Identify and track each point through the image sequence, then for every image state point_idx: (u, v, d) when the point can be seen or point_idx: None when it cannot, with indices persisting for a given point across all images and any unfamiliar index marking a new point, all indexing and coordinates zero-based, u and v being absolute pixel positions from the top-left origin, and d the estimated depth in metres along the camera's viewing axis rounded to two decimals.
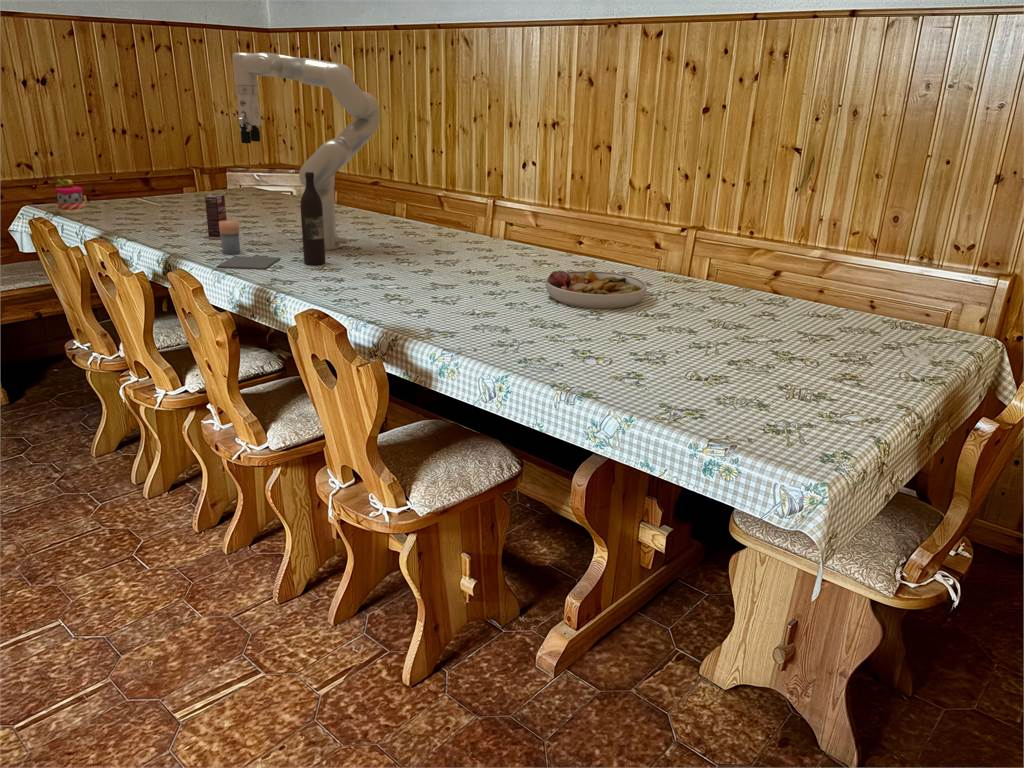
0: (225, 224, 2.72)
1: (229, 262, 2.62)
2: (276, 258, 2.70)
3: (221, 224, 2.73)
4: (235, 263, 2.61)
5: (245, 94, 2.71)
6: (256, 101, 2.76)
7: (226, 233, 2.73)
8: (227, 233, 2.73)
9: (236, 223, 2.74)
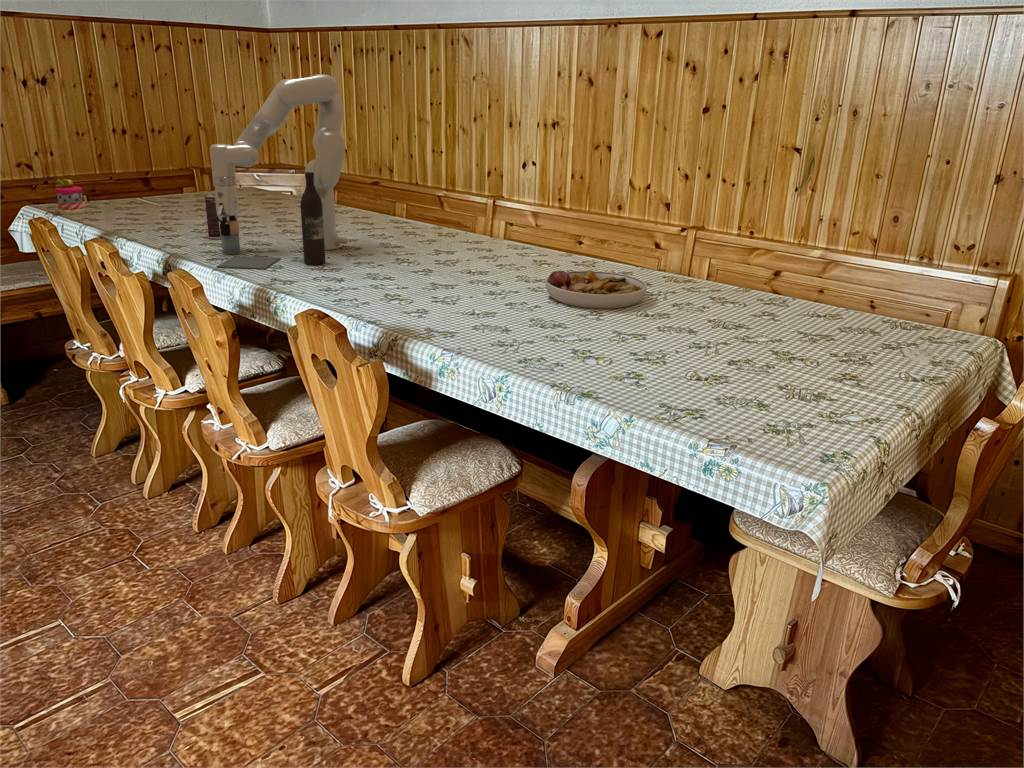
0: None
1: (229, 262, 2.62)
2: (276, 258, 2.70)
3: None
4: (235, 263, 2.61)
5: (222, 186, 2.67)
6: (234, 191, 2.72)
7: None
8: None
9: (236, 223, 2.74)
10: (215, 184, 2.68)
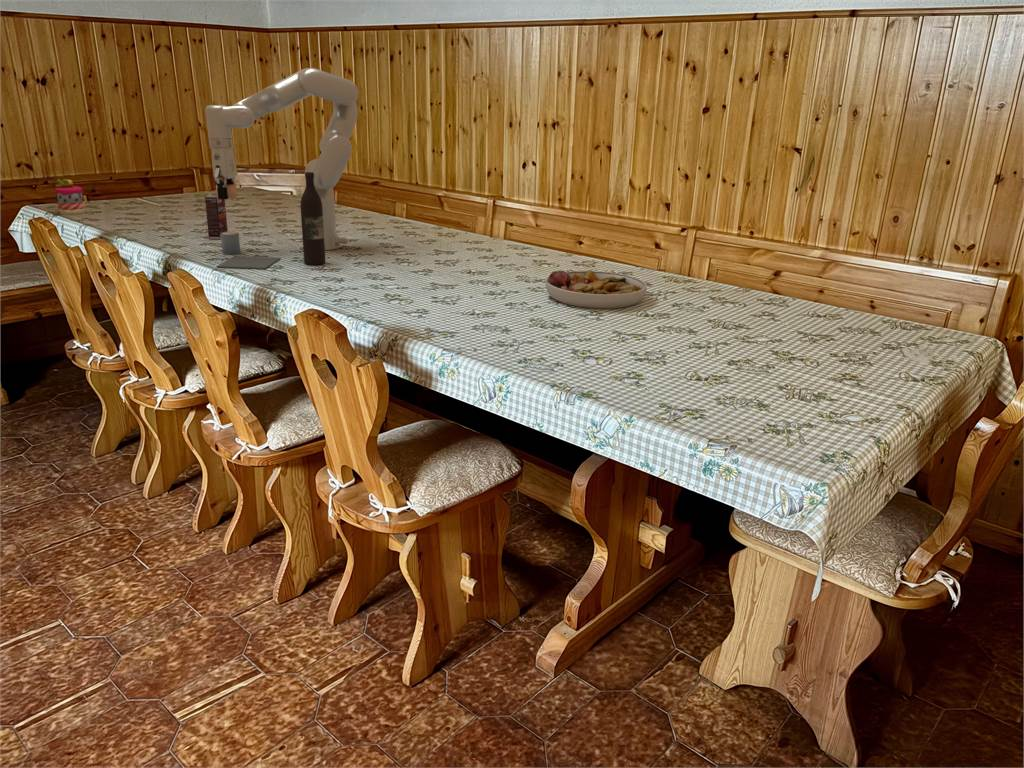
0: None
1: (229, 262, 2.62)
2: (276, 258, 2.70)
3: None
4: (235, 263, 2.61)
5: (219, 148, 2.63)
6: (231, 154, 2.68)
7: None
8: None
9: (233, 186, 2.70)
10: (211, 146, 2.63)
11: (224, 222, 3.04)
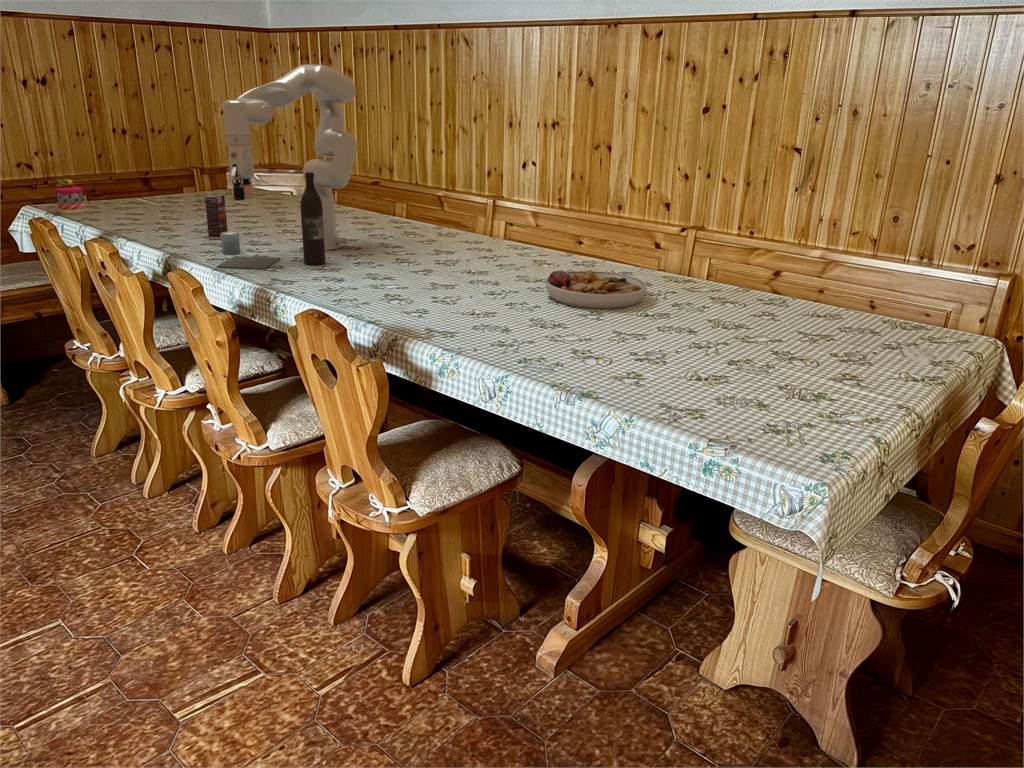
0: None
1: (229, 262, 2.62)
2: (276, 258, 2.70)
3: None
4: (235, 263, 2.61)
5: (236, 145, 2.47)
6: (249, 152, 2.52)
7: None
8: None
9: (250, 187, 2.54)
10: (228, 144, 2.47)
11: (224, 222, 3.04)
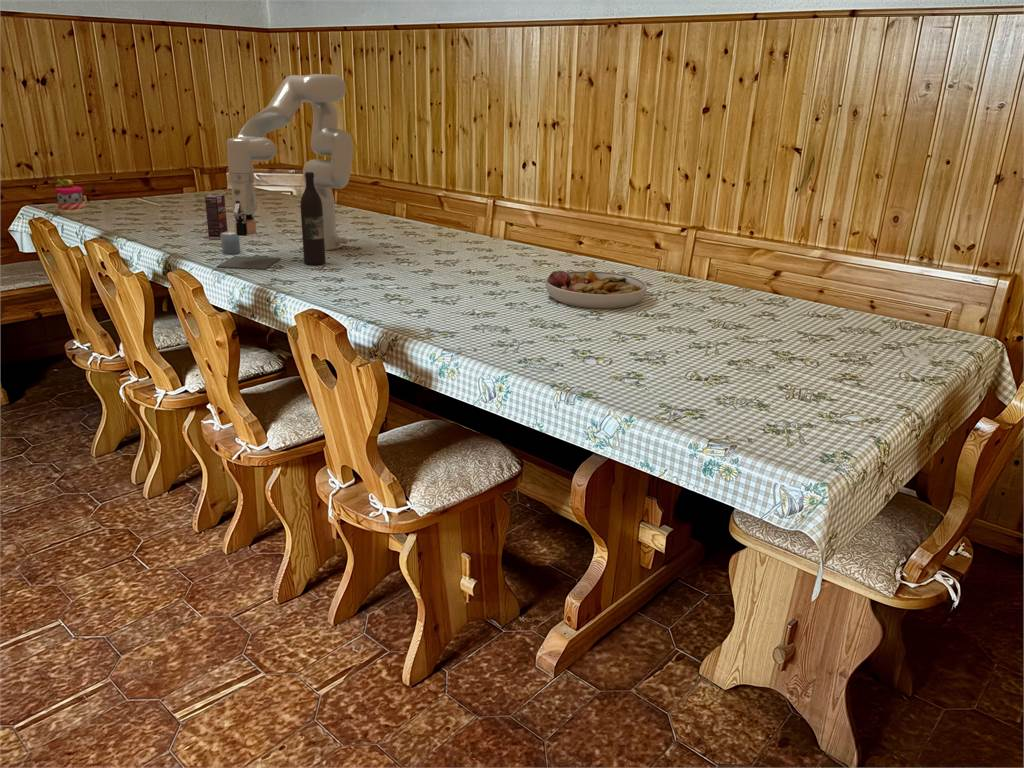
0: None
1: (229, 262, 2.62)
2: (276, 258, 2.70)
3: None
4: (235, 263, 2.61)
5: (240, 182, 2.51)
6: (252, 188, 2.56)
7: None
8: None
9: (253, 222, 2.58)
10: (232, 181, 2.51)
11: (224, 222, 3.04)
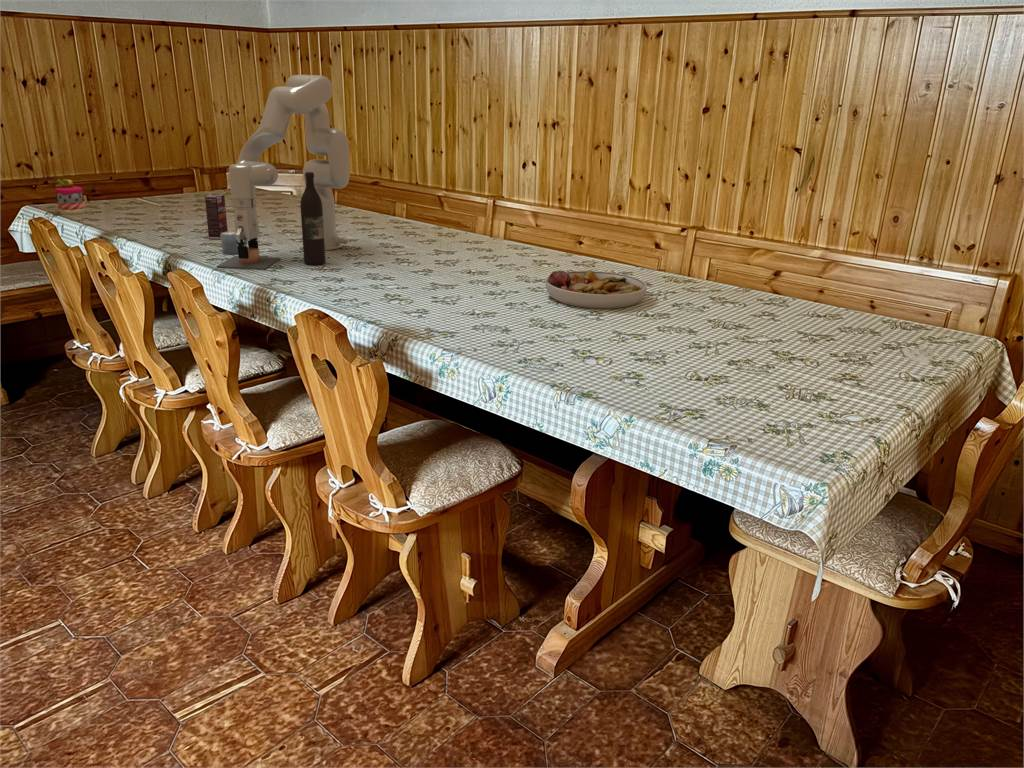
0: None
1: (229, 262, 2.62)
2: (276, 258, 2.70)
3: None
4: (235, 263, 2.61)
5: (242, 208, 2.54)
6: (254, 213, 2.59)
7: (246, 262, 2.61)
8: (247, 262, 2.61)
9: (256, 251, 2.62)
10: (234, 206, 2.54)
11: (224, 222, 3.04)
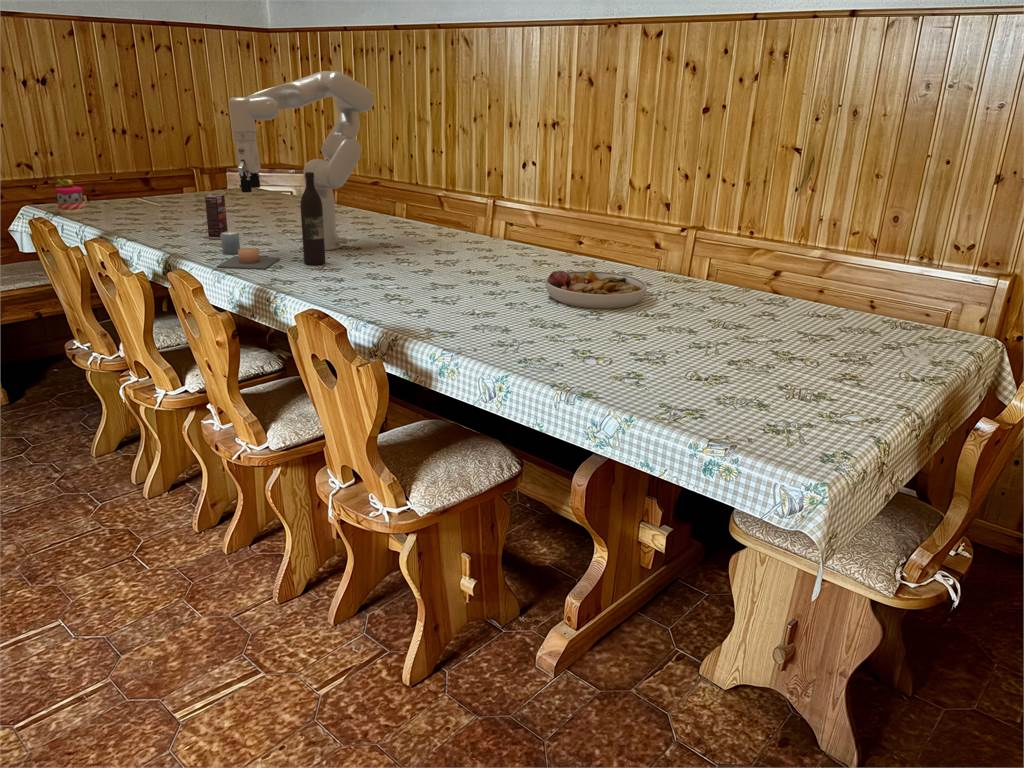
0: (245, 253, 2.59)
1: (229, 262, 2.62)
2: (276, 258, 2.70)
3: (241, 253, 2.60)
4: (235, 263, 2.61)
5: (243, 141, 2.56)
6: (255, 147, 2.61)
7: (246, 262, 2.61)
8: (247, 262, 2.61)
9: (256, 251, 2.62)
10: (235, 140, 2.57)
11: (224, 222, 3.04)
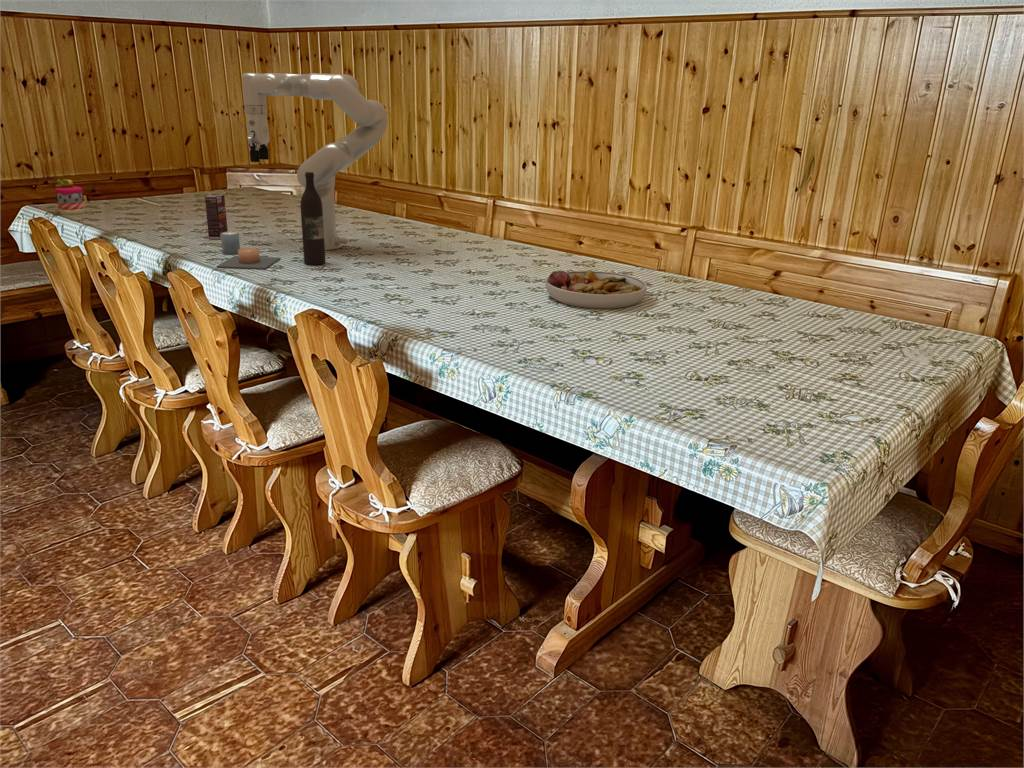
0: (245, 253, 2.59)
1: (229, 262, 2.62)
2: (276, 258, 2.70)
3: (241, 253, 2.60)
4: (235, 263, 2.61)
5: (254, 114, 2.75)
6: (265, 120, 2.80)
7: (246, 262, 2.61)
8: (247, 262, 2.61)
9: (256, 252, 2.62)
10: (247, 112, 2.75)
11: (224, 222, 3.04)
